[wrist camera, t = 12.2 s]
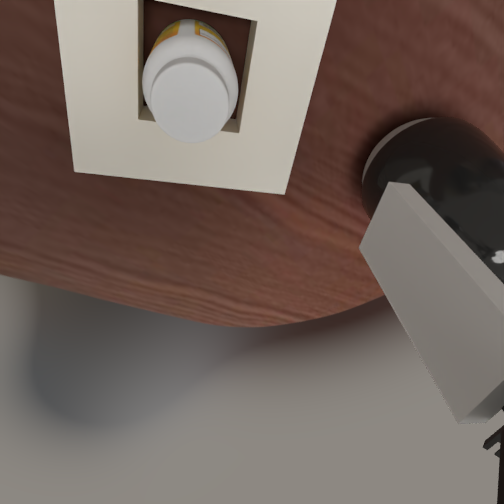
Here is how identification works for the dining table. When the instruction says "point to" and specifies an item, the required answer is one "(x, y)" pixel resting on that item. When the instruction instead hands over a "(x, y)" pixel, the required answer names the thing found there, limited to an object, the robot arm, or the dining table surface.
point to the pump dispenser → (446, 179)
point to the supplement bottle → (190, 81)
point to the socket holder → (141, 118)
